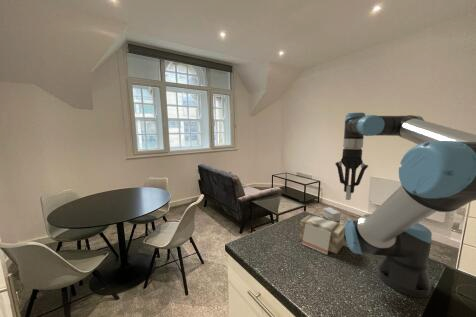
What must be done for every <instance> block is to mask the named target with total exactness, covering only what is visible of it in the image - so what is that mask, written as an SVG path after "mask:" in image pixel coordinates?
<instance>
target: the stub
mask: <svg viewBox="0 0 476 317" xmlns="http://www.w3.org/2000/svg"><path fill="white" fill-rule="evenodd" d="M330 237H331V232H329V231H326V230H323V229H320V228H317V227H314V226H311V225H308V224H305V229H304V235H303V240H301V244H302V245H303V246H306V247H308V248H311V249H312V250H315V251H317V252H320V253H322V254H323V255H328V254H329V251H328V249H329V243H330Z"/></svg>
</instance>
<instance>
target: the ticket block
mask: <svg viewBox="0 0 476 317" xmlns="http://www.w3.org/2000/svg"><path fill="white" fill-rule="evenodd" d="M305 224H308V225H311V226H314V227H317V228H320V229H323V230H326V231H329V232H331V237H330V243H329V249H328V252H330V253H333V254H334V255H335V254H336V255H337V254H338V253H339V252H340V250H341V249H342V248H343V247H344V243H345V225H343V224H341V223H340V224H338V223H337V222H334V221H330V220H327V219H324V218H322V217H320V216H317V215H312V214H308V215H307V216H305V217H304V218H302V219H301V220H300V228H299V230H300V231H299V240H301V241H302V240H303V235H304V229H305Z"/></svg>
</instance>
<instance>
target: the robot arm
mask: <svg viewBox="0 0 476 317" xmlns="http://www.w3.org/2000/svg"><path fill="white" fill-rule="evenodd" d="M364 136H366V137H372V136H373V137H374V136H376V137H377V136H386V137H387V136H389V137H390V136H392V137H394V136H398V137H399V138H402V139H404V140H408V141H409V142H411V143H414V144H416V145H415V146H413V147H412V148H410V149H409V150H408V151H406V153H405V154H404V155H403V156H402V158H401V160H400V165H401V166H400V167H398V177H399V182H400V186H399V187H398V188H397V189H396V190H395V191H393V193H392V194H391V195H390V196H388V198H387V199H385V201H383V202H382V204H380V205H378V207H377V208H376V209H375V210H374V211H373V212H372V213H366V214H363V215H362V216H360V218H358V219H357V220H353V219H349V220H346V222H345V225H344V226H345V233H344V237H345V239H346V243H347V246H348V248H349V250H350V251H351V252H352V253H354V254H358V255H369V256H381V257H383V256H384V257H383V258H382V260H381V261H380V262H379V264H378V268H377V275H378V277H379V278H380V279H381V281H383V283H384V284H386V285H387V286H388V287H390V288H391V289H393V290H395V291H396V292H399V293H401V294H404V295H407V296H410V297H413V298H414V297H415V298H427V297H429V296H430V295H431V293H432V282H431V280H430V279H431V278H430V276H429V273H428V264H429V258H430V251H431V246H432V244H433V241H432V239H433V238H432V236H433V235H432V231H431V230H430V229H429V228H428V227H426V226H425V225H423V224H421V222H422V221H423V220H425V219H427V218H429V217H430V216H432V215H434V213H436V212H438V213H451V212H454V211H456V210H458V209H460V208H462V207H464V206H465V205H468V204H469V203H472V202H473V201H476V134H474V133H470V132H466V131H463V130H459V129H456V128H452V127H447V126H445V125H440V124H437V123H433V122H430V121H426V120H425V119H424V118H423V117H422V116H420V115H412V114H409V115H375V114H371V115H370V114H368V115H366V113H365V112H348V113H347V114H345V119H344V135H343V143H342V147H343V149H342V154H341V155H342V157H341V159H340V161H337V162H335V164H334V165H335V167H336V168H337V173H338V177H339V178H338V179H339V183H341V184H342V185H343V186H344V187H343V192H344V193H345V200H347V201H350V200H351V199H352V194H353V193H354V192H355V187H356V186H359V185H360V184H361V181H362V178H363V176H364V174H365V171H366V170H367V169H368V168H369V165H368V164H365V163H364V161H363V149H362V148H364V138H365V137H364ZM342 165H343V166H344V170H345V171H344V172H343V166H342ZM359 167H360V171H359V174H358V175H357V169H358V168H359ZM350 170H351V171H350ZM350 172H351V175H350ZM356 176H357V179H356ZM349 182H350V183H349Z"/></svg>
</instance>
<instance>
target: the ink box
mask: <svg viewBox="0 0 476 317" xmlns="http://www.w3.org/2000/svg"><path fill="white" fill-rule="evenodd" d="M321 218H324V219H327V220H330V221H334V222H337V223H338V224H341V212H340V211H339V210H336V209H335V208H332V207H330V206H328V207H323V208H322V217H321Z"/></svg>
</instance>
